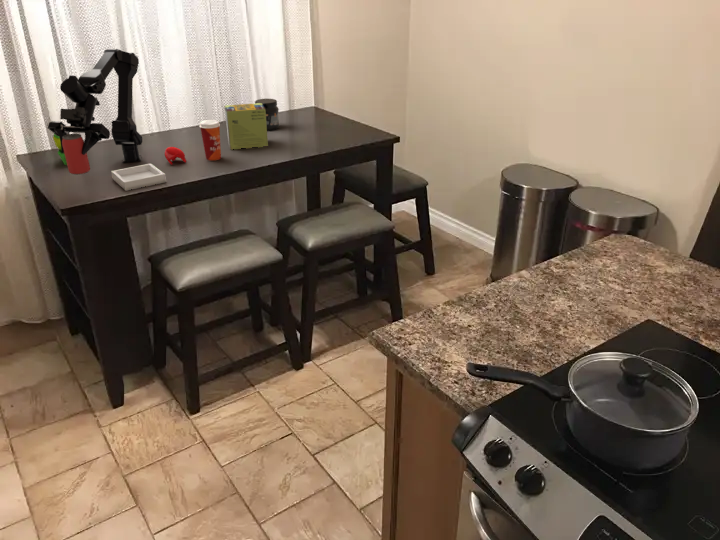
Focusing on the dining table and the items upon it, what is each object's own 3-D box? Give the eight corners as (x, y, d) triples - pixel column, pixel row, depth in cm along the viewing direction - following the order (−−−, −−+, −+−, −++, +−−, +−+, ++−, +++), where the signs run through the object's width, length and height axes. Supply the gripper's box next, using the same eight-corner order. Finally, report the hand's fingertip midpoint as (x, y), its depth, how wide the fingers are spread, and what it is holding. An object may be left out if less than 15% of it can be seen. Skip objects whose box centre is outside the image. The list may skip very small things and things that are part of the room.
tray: (112, 179, 213) (111, 171, 211) (151, 171, 220) (150, 163, 218) (125, 190, 203) (124, 182, 201) (166, 182, 210) (165, 173, 209)
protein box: (268, 146, 247) (265, 108, 239) (230, 150, 243) (226, 111, 235) (264, 139, 255) (261, 102, 248) (227, 142, 251) (223, 105, 244)
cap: (161, 157, 223) (174, 149, 222) (161, 148, 227) (174, 140, 226) (176, 171, 229) (189, 163, 228) (176, 161, 233) (188, 153, 232)
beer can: (91, 167, 203) (83, 132, 197) (90, 173, 198) (82, 137, 192) (69, 169, 201) (61, 134, 196) (68, 176, 196) (59, 139, 190)
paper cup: (216, 162, 229) (212, 125, 222) (199, 160, 231) (194, 123, 225) (227, 156, 235) (223, 120, 229) (210, 154, 238) (206, 118, 231)
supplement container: (251, 127, 272) (249, 100, 267) (272, 123, 278) (270, 97, 272) (263, 132, 265) (261, 104, 259) (284, 128, 270) (282, 101, 265)
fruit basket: (82, 164, 226) (75, 135, 221) (56, 166, 224) (49, 136, 219) (85, 155, 236) (79, 126, 231) (61, 157, 234) (54, 128, 228)
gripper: (43, 96, 193) (30, 140, 189) (97, 98, 190) (86, 143, 186) (63, 114, 204) (52, 156, 199) (115, 116, 201) (104, 159, 197)
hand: (73, 153), depth 195 cm, fingers closed on beer can, 6 cm apart
